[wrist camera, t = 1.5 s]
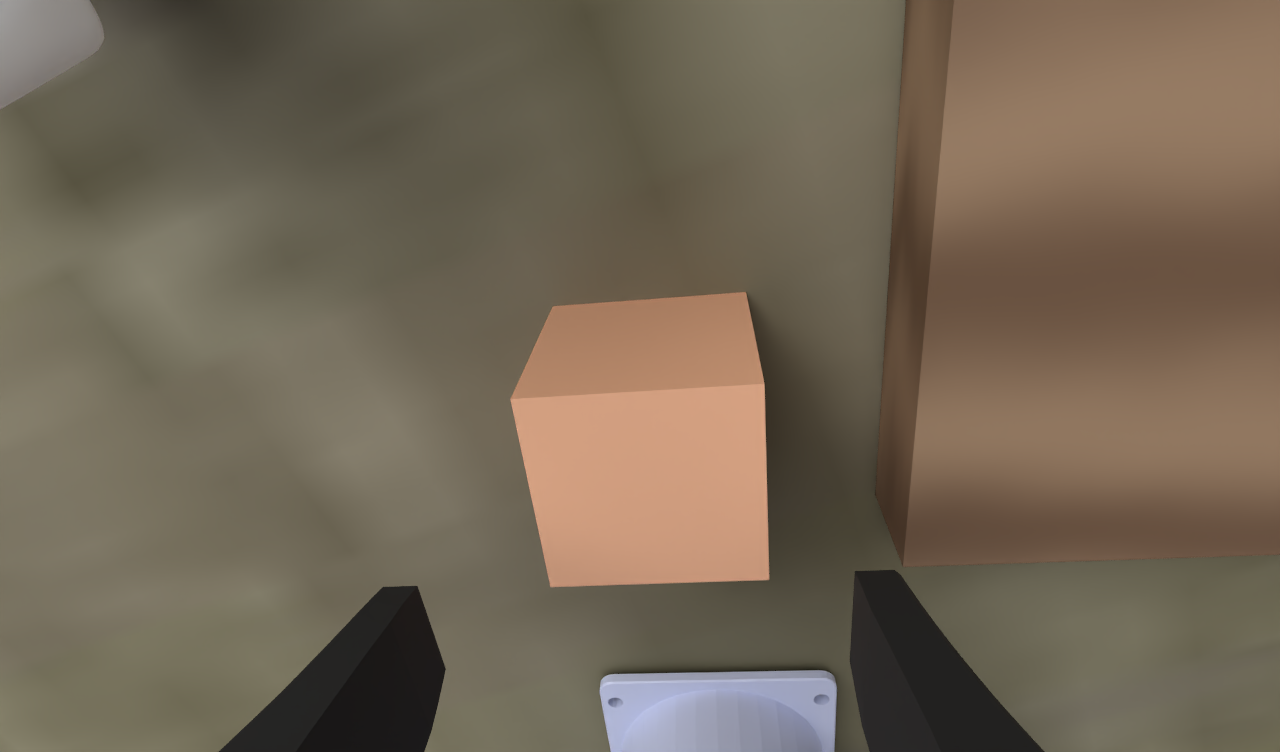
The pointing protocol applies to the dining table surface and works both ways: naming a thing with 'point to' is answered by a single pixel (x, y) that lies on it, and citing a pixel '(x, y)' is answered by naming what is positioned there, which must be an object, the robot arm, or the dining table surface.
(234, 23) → the dining table surface
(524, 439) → the terracotta cube
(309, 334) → the dining table surface
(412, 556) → the dining table surface
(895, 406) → the walnut base
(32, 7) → the mug
